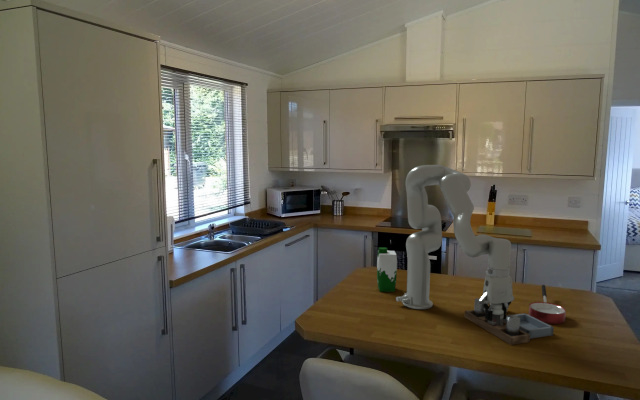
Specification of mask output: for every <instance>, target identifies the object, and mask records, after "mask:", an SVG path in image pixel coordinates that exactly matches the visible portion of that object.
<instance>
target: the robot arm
mask: <svg viewBox="0 0 640 400" xmlns="http://www.w3.org/2000/svg"><path fill="white" fill-rule="evenodd" d="M427 186H439V188H440V191H441V193H442V195H443V198H444V200H445V201H446V204H447V206H448V208H449V210H450V211H451V213H452V217H453V219H452V223H453V232H454V233H453V234H454V237H455V239H456V242H457V243H458V245H459V247H460V249H461V251H462V252H463V254H464V255H466V256H467V257H468V258H474V259H475V258H478V257H481V256H486V255H488V258H487V269H486V270H485V278H484V282H483V290H482V296H480V297H479V298H480V299H479V303H480V304H482V306H483V307H484V308H485V319H487V320H489V321H492V313H493V312H492V311H491V309H492V306H493V304H502V310H503V311H504V315H503V319H506V316H507V314H508V312H507V309H509V306H510V305H512V302H514V300H515V296H514V295H513V280H512V277H511V276H512V275H510V270H511V269H510V267H511V253H512V252H511V251H512V243H511V241H510V240H509V239H506V238H500V237H499V238H498V237H494V236H491V235H488V234H479V235H476V234H475V233H474V231H473V229H472V226H471V218H472V214H473V212H474V209H475V207H474V204H473V202H472V200H471V198H470V195H469V194H468V191H469V190H470V188H471V186H472V184H471V180H470V178H469V176H468V175H467V174H465V173H463V172H461V171H457V170H455V169H452V168H450V167H447V166H445V165H441V164H423V165H418V166H415V167H414V168H412V169H411V170H410V171H409V172H408V173H407V175H406V178H405V191H406V202H407V222H408V224H409V226H410V227H411V228H412V229H415V230H418V229H419V230H420V229H421V231H416V232H413V233H411V234H410V235H409V236H408V237H407V238H406V242H405V248H406V255H407V266H406V267H407V268H406V269H407V271H406V272H407V273H406V275H407V276H406V292H404V294H403V295H401V296H396V297H395V301H396V302H401V303H402V304H403V306H405V307H407V308H409V309H414V310H427V309H431V308H433V301H432V300H430V288H431V287H430V285H431V284H430V281H431V280H430V279H431V261H430V258H429V253H431V252H435V251H437V250H439V249H440V247H441V246H442V243H443V231H442V229H443V228H442V216H441V213H440V211H439V209H438V208H437V206H435V205H433V204H429V202H428V199H429V198H428V193H427V190H426V188H425V187H427ZM485 301H486V302H485Z"/></svg>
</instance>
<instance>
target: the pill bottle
mask: <svg viewBox="0 0 640 400" xmlns="http://www.w3.org/2000/svg"><path fill="white" fill-rule="evenodd" d="M491 311H492V312H493V313H492V321H489V320H488V323H489V324H491V325H492V326H501V325H503V315H504V311H503V310H502V304H493V306H492V309H491Z"/></svg>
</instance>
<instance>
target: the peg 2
mask: <svg viewBox="0 0 640 400" xmlns="http://www.w3.org/2000/svg"><path fill="white" fill-rule="evenodd" d="M506 316H507V318H506V334H508V335H510V336H511V337H512V336H518V335H519V327H520V317H518V316H516V314H506Z"/></svg>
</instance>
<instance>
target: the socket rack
mask: <svg viewBox="0 0 640 400" xmlns="http://www.w3.org/2000/svg"><path fill="white" fill-rule="evenodd" d="M464 318H465V319H467V320H468V321H470V322H472V323H474V324H475V325H477V326H479V327H480V328H482V329H484V330H485V331H487V332H489V333H490V334H492V335H493V336H495V337H497V338H498V339H500V340H502V341H503V342H504V343H506V344H507V345H509V346H513V345H519V344H524V343H530V342H531V339H530V335H529V334H527V333H525V332H524V331H522V330H520V329H519V335H518V336H512V337H511V336H510V335H508V334H506V322H505V321H503V325H501V326H492V325H491V324H489V323H488V320H487V319H485V317H477V316H475V315H474V309H471V310H465V311H464Z"/></svg>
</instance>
